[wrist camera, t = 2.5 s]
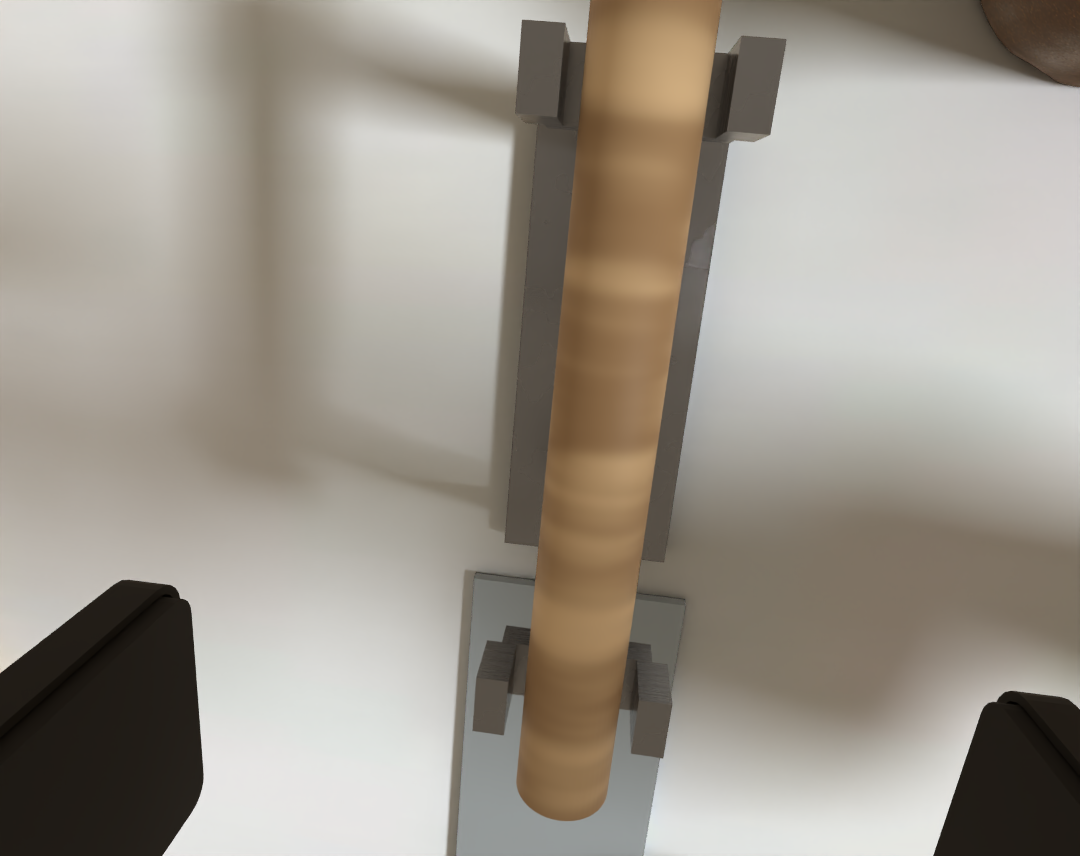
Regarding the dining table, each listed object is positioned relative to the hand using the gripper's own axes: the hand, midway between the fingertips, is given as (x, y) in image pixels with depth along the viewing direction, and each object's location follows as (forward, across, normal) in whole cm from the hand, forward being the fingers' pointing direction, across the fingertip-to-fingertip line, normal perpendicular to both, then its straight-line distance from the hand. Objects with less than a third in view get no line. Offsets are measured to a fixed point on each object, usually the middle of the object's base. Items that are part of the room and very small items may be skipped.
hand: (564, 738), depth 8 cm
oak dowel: (+13, 0, 0) cm, 13 cm away
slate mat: (+26, -1, +26) cm, 37 cm away
